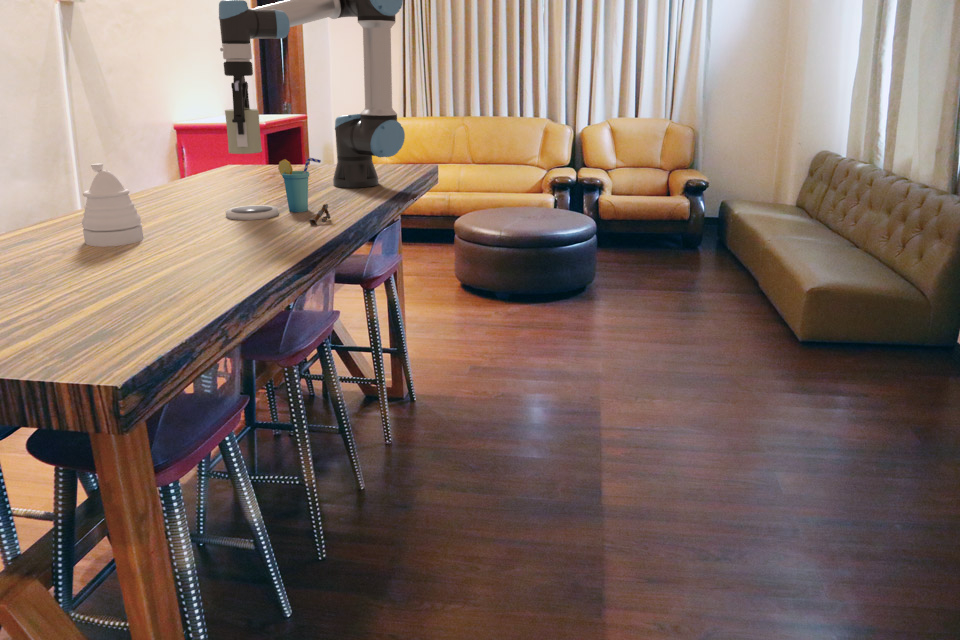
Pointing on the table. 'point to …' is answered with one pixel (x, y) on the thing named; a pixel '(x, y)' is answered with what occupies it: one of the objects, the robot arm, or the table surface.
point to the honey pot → (109, 212)
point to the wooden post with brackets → (319, 214)
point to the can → (252, 132)
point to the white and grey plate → (252, 212)
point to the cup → (296, 185)
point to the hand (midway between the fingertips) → (244, 144)
